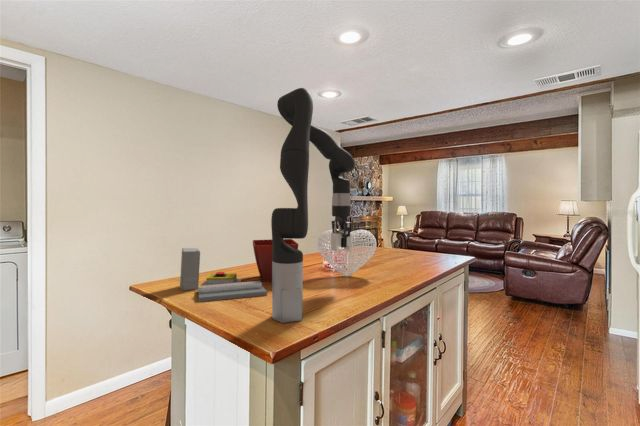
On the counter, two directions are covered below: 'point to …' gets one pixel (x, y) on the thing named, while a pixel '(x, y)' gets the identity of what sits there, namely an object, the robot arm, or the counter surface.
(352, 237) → the heart
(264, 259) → the plant pot
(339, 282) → the counter surface
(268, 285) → the counter surface
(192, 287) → the skincare box
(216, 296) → the rail board
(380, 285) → the counter surface
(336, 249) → the block
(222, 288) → the rail
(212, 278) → the emergency button
